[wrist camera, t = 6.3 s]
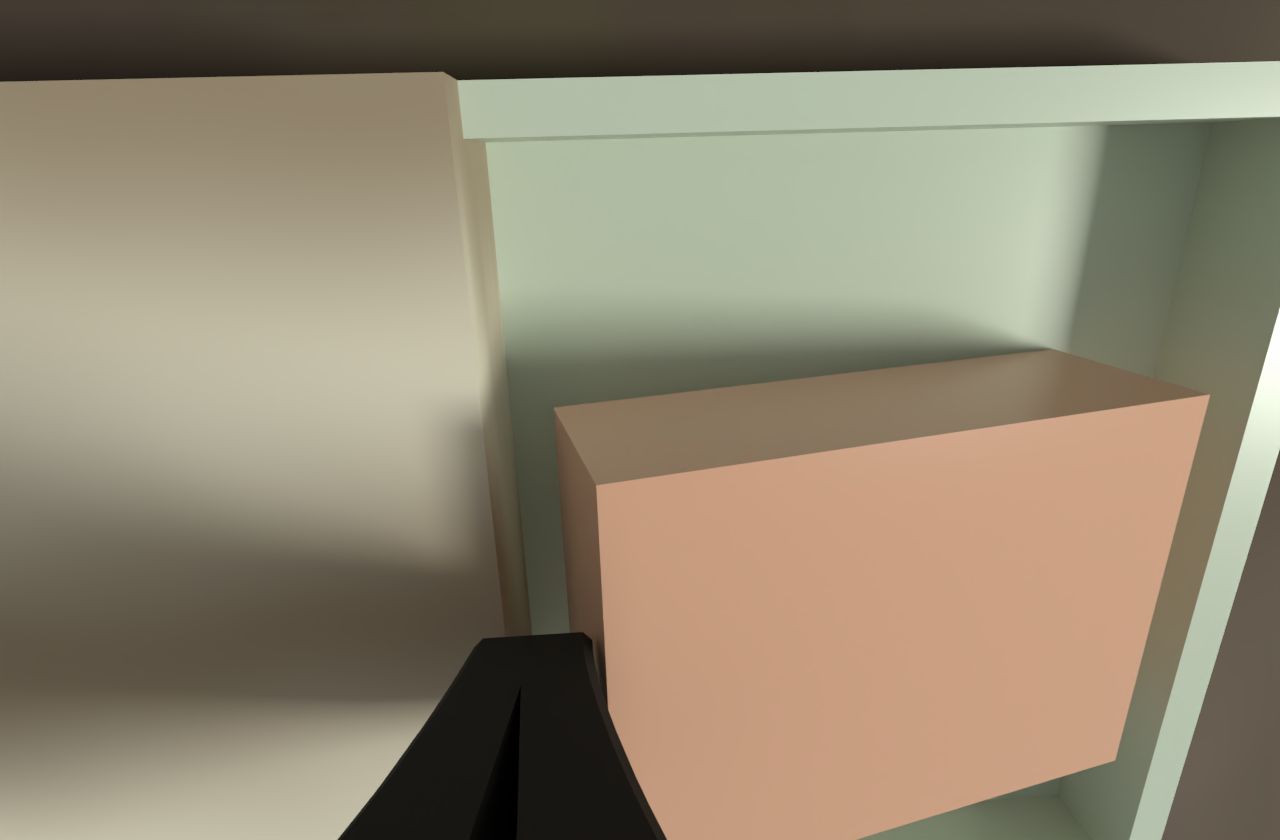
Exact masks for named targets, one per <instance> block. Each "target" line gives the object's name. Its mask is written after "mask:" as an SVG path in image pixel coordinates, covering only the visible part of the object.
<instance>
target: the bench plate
mask: <svg viewBox="0 0 1280 840" xmlns="http://www.w3.org/2000/svg"><path fill="white" fill-rule="evenodd" d="M527 635H532V627H531V617H530V606H529V596H528V585H527V575H526V564H525V554H524V543H523V533H522V522H521V512H520V501H519V490H518V480H517V469H516V459H515V448H514V438H513V427H512V417H511V406H510V396H509V385H508V375H507V364H506V353H505V343H504V332H503V322H502V311H501V301H500V290H499V280H498V269H497V259H496V248H495V238H494V227H493V216H492V206H491V195H490V185H489V174H488V164H487V153H486V143H485V142H479V141H473V140H467V139H463V130H462V120H461V110H460V101H459V91H458V82H457V80H456V79H454V78H453V77H451V76H449V75H448V74H446V73H444V72H416V73H372V74H328V75H283V76H239V77H194V78H150V79H105V80H61V81H16V82H0V840H337V839H338V838H339V837H340V836H341V834H342V833H343V832H344V831H345V829H346V828H347V827H348V826H349V824H350V823H351V822H352V821H353V819H354V818H355V817H356V816H357V814H358V813H359V812H360V811H361V809H362V808H363V807H364V806H365V804H366V803H367V802H368V801H369V799H370V798H371V797H372V796H373V794H374V793H375V792H376V790H377V789H378V788H379V786H380V785H381V784H382V782H383V781H384V780H385V778H386V777H387V776H388V774H389V773H390V771H391V770H392V769H393V767H394V766H395V765H396V763H397V762H398V760H399V759H400V758H401V756H402V755H403V753H404V752H405V751H406V749H407V748H408V746H409V745H410V744H411V742H412V741H413V740H414V738H415V737H416V735H417V734H418V733H419V731H420V730H421V728H422V727H423V726H424V724H425V723H426V721H427V720H428V718H429V717H430V715H431V714H432V712H433V711H434V709H435V708H436V706H437V705H438V703H439V702H440V700H441V699H442V697H443V696H444V694H445V693H446V691H447V690H448V688H449V687H450V685H451V684H452V682H453V681H454V679H455V677H456V676H457V674H458V673H459V671H460V669H461V668H462V666H463V665H464V663H465V661H466V660H467V658H468V656H469V655H470V653H471V652H472V650H473V648H474V647H475V646H476V645H477V644H478V643H479V642H480V641H481V640H482V639H483V638H495V637H511V636H527Z"/></svg>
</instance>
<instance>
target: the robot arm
mask: <svg viewBox="0 0 1280 840" xmlns="http://www.w3.org/2000/svg"><path fill="white" fill-rule="evenodd" d="M337 840H667V838H666V837H665V835H664V833H663V831H662V829H661V827H660V825H659V823H658V821H657V819H656V817H655V815H654V813H653V811H652V809H651V807H650V805H649V803H648V801H647V799H646V797H645V795H644V793H643V791H642V789H641V787H640V784H639V782H638V780H637V778H636V776H635V774H634V771H633V769H632V767H631V764H630V762H629V760H628V757H627V755H626V753H625V750H624V748H623V746H622V743H621V741H620V739H619V736H618V734H617V732H616V729H615V726H614V724H613V721H612V718H611V716H610V713H609V710H608V707H607V704H606V701H605V698H604V695H603V692H602V689H601V686H600V682H599V678H598V675H597V671H596V666H595V661H594V655H593V642H592V639H591V638H589V637H588V636H587V635H586V634H585V633H583V632H574V633H559V634H543V635H527V636H511V637H495V638H483V639H482V640H481V641H480V642H479V643H478V644H477V645H476V646H475V647H474V648H473V650H472V652H471V653H470V655H469V656H468V658H467V660H466V661H465V663H464V665H463V666H462V668H461V669H460V671H459V673H458V674H457V676H456V677H455V679H454V681H453V682H452V684H451V685H450V687H449V688H448V690H447V691H446V693H445V694H444V696H443V697H442V699H441V700H440V702H439V703H438V705H437V706H436V708H435V709H434V711H433V712H432V714H431V715H430V717H429V718H428V720H427V721H426V723H425V724H424V726H423V727H422V728H421V730H420V731H419V733H418V734H417V735H416V737H415V738H414V740H413V741H412V742H411V744H410V745H409V746H408V748H407V749H406V751H405V752H404V753H403V755H402V756H401V758H400V759H399V760H398V762H397V763H396V765H395V766H394V767H393V769H392V770H391V771H390V773H389V774H388V776H387V777H386V778H385V780H384V781H383V782H382V784H381V785H380V786H379V788H378V789H377V790H376V792H375V793H374V794H373V796H372V797H371V798H370V799H369V801H368V802H367V803H366V804H365V806H364V807H363V808H362V809H361V811H360V812H359V813H358V814H357V816H356V817H355V818H354V819H353V821H352V822H351V823H350V824H349V826H348V827H347V828H346V829H345V831H344V832H343V833H342V834H341V836H340V837H339V838H338V839H337Z"/></svg>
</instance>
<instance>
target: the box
mask: <svg viewBox="0 0 1280 840" xmlns="http://www.w3.org/2000/svg"><path fill="white" fill-rule="evenodd" d="M457 82H458V91H459V101H460V110H461V120H462V130H463V139H467V140H473V141H479V142H485V143H486V153H487V164H488V174H489V185H490V195H491V206H492V216H493V227H494V238H495V248H496V259H497V269H498V280H499V290H500V301H501V311H502V322H503V332H504V343H505V353H506V364H507V375H508V385H509V396H510V406H511V417H512V427H513V438H514V448H515V459H516V469H517V480H518V490H519V501H520V512H521V522H522V533H523V543H524V554H525V564H526V575H527V585H528V596H529V606H530V617H531V627H532V635H543V634H559V633H570V628H569V614H568V601H567V587H566V574H565V560H564V546H563V533H562V519H561V506H560V492H559V478H558V465H557V451H556V438H555V424H554V411H553V408H555V407H563V406H572V405H580V404H589V403H597V402H606V401H614V400H623V399H631V398H640V397H648V396H656V395H665V394H673V393H682V392H690V391H699V390H707V389H716V388H724V387H733V386H741V385H750V384H758V383H767V382H775V381H784V380H792V379H801V378H809V377H818V376H826V375H835V374H843V373H852V372H860V371H869V370H877V369H886V368H894V367H903V366H911V365H920V364H928V363H937V362H945V361H954V360H962V359H971V358H979V357H988V356H996V355H1005V354H1013V353H1022V352H1030V351H1039V350H1047V349H1054V350H1058V351H1061V352H1065V353H1068V354H1072V355H1075V356H1079V357H1082V358H1086V359H1089V360H1092V361H1096V362H1099V363H1103V364H1106V365H1110V366H1113V367H1117V368H1120V369H1124V370H1127V371H1130V372H1134V373H1137V374H1141V375H1144V376H1148V377H1151V378H1155V379H1158V380H1161V381H1165V382H1168V383H1172V384H1175V385H1179V386H1182V387H1186V388H1189V389H1193V390H1196V391H1199V392H1203V393H1206V394H1210V397H1209V401H1208V405H1207V409H1206V413H1205V417H1204V420H1203V424H1202V428H1201V432H1200V436H1199V440H1198V443H1197V447H1196V451H1195V455H1194V459H1193V463H1192V467H1191V470H1190V474H1189V478H1188V482H1187V486H1186V490H1185V494H1184V497H1183V501H1182V505H1181V509H1180V513H1179V517H1178V520H1177V524H1176V528H1175V532H1174V536H1173V540H1172V544H1171V547H1170V551H1169V555H1168V559H1167V563H1166V567H1165V571H1164V574H1163V578H1162V582H1161V586H1160V590H1159V594H1158V597H1157V601H1156V605H1155V609H1154V613H1153V617H1152V621H1151V624H1150V628H1149V632H1148V636H1147V640H1146V644H1145V648H1144V651H1143V655H1142V659H1141V663H1140V667H1139V671H1138V675H1137V678H1136V682H1135V686H1134V690H1133V694H1132V698H1131V701H1130V705H1129V709H1128V713H1127V717H1126V721H1125V725H1124V728H1123V732H1122V736H1121V740H1120V744H1119V748H1118V752H1117V755H1116V759H1115V761H1112V762H1108V763H1105V764H1102V765H1098V766H1095V767H1092V768H1089V769H1085V770H1082V771H1079V772H1076V773H1072V774H1069V775H1066V776H1063V777H1059V778H1056V779H1053V780H1049V781H1046V782H1043V783H1040V784H1036V785H1033V786H1030V787H1027V788H1023V789H1020V790H1017V791H1014V792H1010V793H1007V794H1004V795H1000V796H997V797H994V798H991V799H987V800H984V801H981V802H978V803H974V804H971V805H968V806H964V807H961V808H958V809H955V810H951V811H948V812H945V813H942V814H938V815H935V816H932V817H929V818H925V819H922V820H919V821H915V822H912V823H909V824H906V825H902V826H899V827H896V828H893V829H889V830H886V831H883V832H879V833H876V834H873V835H870V836H866V837H863V838H860V839H857V840H1161V838H1162V835H1163V832H1164V828H1165V825H1166V822H1167V818H1168V815H1169V812H1170V808H1171V805H1172V802H1173V799H1174V795H1175V792H1176V789H1177V785H1178V782H1179V779H1180V776H1181V772H1182V769H1183V766H1184V762H1185V759H1186V756H1187V752H1188V749H1189V746H1190V743H1191V739H1192V736H1193V733H1194V729H1195V726H1196V723H1197V720H1198V716H1199V713H1200V710H1201V706H1202V703H1203V700H1204V696H1205V693H1206V690H1207V687H1208V683H1209V680H1210V677H1211V673H1212V670H1213V667H1214V664H1215V660H1216V657H1217V654H1218V650H1219V647H1220V644H1221V640H1222V637H1223V634H1224V631H1225V627H1226V624H1227V621H1228V617H1229V614H1230V611H1231V608H1232V604H1233V601H1234V598H1235V594H1236V591H1237V588H1238V584H1239V581H1240V578H1241V575H1242V571H1243V568H1244V565H1245V561H1246V558H1247V555H1248V552H1249V548H1250V545H1251V542H1252V538H1253V535H1254V532H1255V528H1256V525H1257V522H1258V519H1259V515H1260V512H1261V509H1262V505H1263V502H1264V499H1265V496H1266V492H1267V489H1268V486H1269V482H1270V479H1271V476H1272V472H1273V469H1274V466H1275V463H1276V459H1277V456H1278V453H1279V449H1280V61H1273V62H1230V63H1187V64H1143V65H1100V66H1057V67H1014V68H970V69H927V70H884V71H841V72H797V73H754V74H711V75H668V76H624V77H581V78H538V79H495V80H457Z"/></svg>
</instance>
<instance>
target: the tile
mask: <svg viewBox="0 0 1280 840" xmlns="http://www.w3.org/2000/svg"><path fill="white" fill-rule="evenodd" d="M1209 397H1210V394H1206V393H1203V392H1199V391H1196V390H1193V389H1189V388H1186V387H1182V386H1179V385H1175V384H1172V383H1168V382H1165V381H1161V380H1158V379H1155V378H1151V377H1148V376H1144V375H1141V374H1137V373H1134V372H1130V371H1127V370H1124V369H1120V368H1117V367H1113V366H1110V365H1106V364H1103V363H1099V362H1096V361H1092V360H1089V359H1086V358H1082V357H1079V356H1075V355H1072V354H1068V353H1065V352H1061V351H1058V350H1054V349H1047V350H1039V351H1030V352H1022V353H1013V354H1005V355H996V356H988V357H979V358H971V359H962V360H954V361H945V362H937V363H928V364H920V365H911V366H903V367H894V368H886V369H877V370H869V371H860V372H852V373H843V374H835V375H826V376H818V377H809V378H801V379H792V380H784V381H775V382H767V383H758V384H750V385H741V386H733V387H724V388H716V389H707V390H699V391H690V392H682V393H673V394H665V395H656V396H648V397H640V398H631V399H623V400H614V401H606V402H597V403H589V404H580V405H572V406H563V407H555V408H553V411H554V424H555V438H556V451H557V465H558V478H559V492H560V506H561V519H562V533H563V546H564V560H565V574H566V587H567V601H568V614H569V628H570V633H574V632H583V633H585V634H586V635H587V636H588V637H589V638H591V639H592V642H593V655H594V661H595V666H596V671H597V675H598V678H599V682H600V686H601V689H602V692H603V695H604V698H605V701H606V704H607V707H608V710H609V713H610V716H611V718H612V721H613V724H614V726H615V729H616V732H617V734H618V736H619V739H620V741H621V743H622V746H623V748H624V750H625V753H626V755H627V757H628V760H629V762H630V764H631V767H632V769H633V771H634V774H635V776H636V778H637V780H638V782H639V784H640V787H641V789H642V791H643V793H644V795H645V797H646V799H647V801H648V803H649V805H650V807H651V809H652V811H653V813H654V815H655V817H656V819H657V821H658V823H659V825H660V827H661V829H662V831H663V833H664V835H665V837H666V838H667V840H857V839H860V838H863V837H866V836H870V835H873V834H876V833H879V832H883V831H886V830H889V829H893V828H896V827H899V826H902V825H906V824H909V823H912V822H915V821H919V820H922V819H925V818H929V817H932V816H935V815H938V814H942V813H945V812H948V811H951V810H955V809H958V808H961V807H964V806H968V805H971V804H974V803H978V802H981V801H984V800H987V799H991V798H994V797H997V796H1000V795H1004V794H1007V793H1010V792H1014V791H1017V790H1020V789H1023V788H1027V787H1030V786H1033V785H1036V784H1040V783H1043V782H1046V781H1049V780H1053V779H1056V778H1059V777H1063V776H1066V775H1069V774H1072V773H1076V772H1079V771H1082V770H1085V769H1089V768H1092V767H1095V766H1098V765H1102V764H1105V763H1108V762H1112V761H1115V759H1116V755H1117V752H1118V748H1119V744H1120V740H1121V736H1122V732H1123V728H1124V725H1125V721H1126V717H1127V713H1128V709H1129V705H1130V701H1131V698H1132V694H1133V690H1134V686H1135V682H1136V678H1137V675H1138V671H1139V667H1140V663H1141V659H1142V655H1143V651H1144V648H1145V644H1146V640H1147V636H1148V632H1149V628H1150V624H1151V621H1152V617H1153V613H1154V609H1155V605H1156V601H1157V597H1158V594H1159V590H1160V586H1161V582H1162V578H1163V574H1164V571H1165V567H1166V563H1167V559H1168V555H1169V551H1170V547H1171V544H1172V540H1173V536H1174V532H1175V528H1176V524H1177V520H1178V517H1179V513H1180V509H1181V505H1182V501H1183V497H1184V494H1185V490H1186V486H1187V482H1188V478H1189V474H1190V470H1191V467H1192V463H1193V459H1194V455H1195V451H1196V447H1197V443H1198V440H1199V436H1200V432H1201V428H1202V424H1203V420H1204V417H1205V413H1206V409H1207V405H1208V401H1209Z"/></svg>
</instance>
